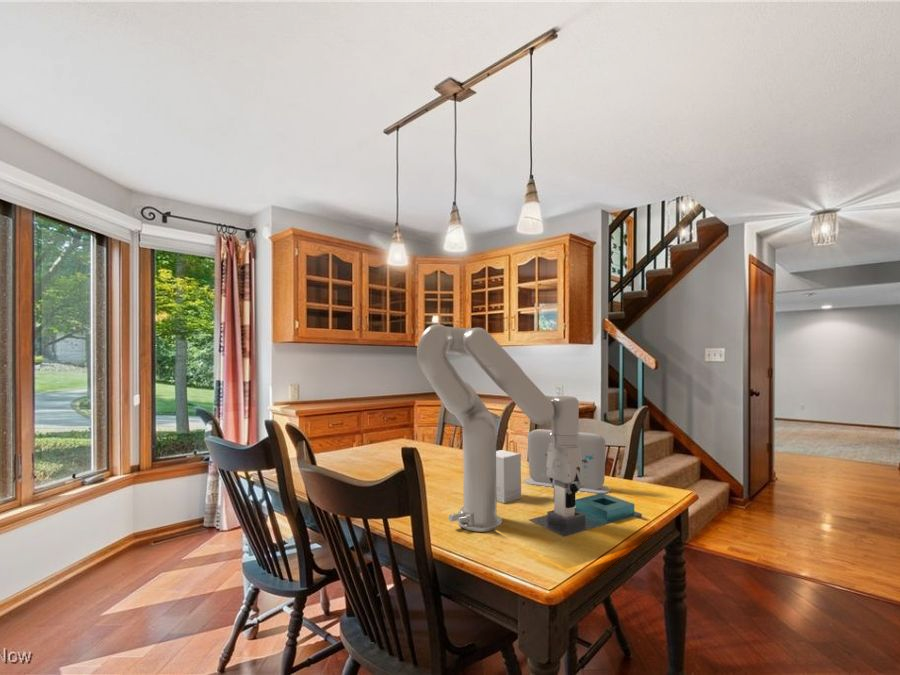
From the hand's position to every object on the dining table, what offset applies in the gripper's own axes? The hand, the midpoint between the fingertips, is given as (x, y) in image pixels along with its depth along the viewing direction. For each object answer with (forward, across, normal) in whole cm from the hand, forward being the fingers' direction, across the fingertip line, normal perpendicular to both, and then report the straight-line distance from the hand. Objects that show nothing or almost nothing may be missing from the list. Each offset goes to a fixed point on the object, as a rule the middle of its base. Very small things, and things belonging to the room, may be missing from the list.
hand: (564, 503), depth 130 cm
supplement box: (+7, -29, 0) cm, 29 cm away
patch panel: (+6, 0, +8) cm, 10 cm away
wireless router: (+6, -28, +28) cm, 40 cm away
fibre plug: (+4, 0, 0) cm, 4 cm away
